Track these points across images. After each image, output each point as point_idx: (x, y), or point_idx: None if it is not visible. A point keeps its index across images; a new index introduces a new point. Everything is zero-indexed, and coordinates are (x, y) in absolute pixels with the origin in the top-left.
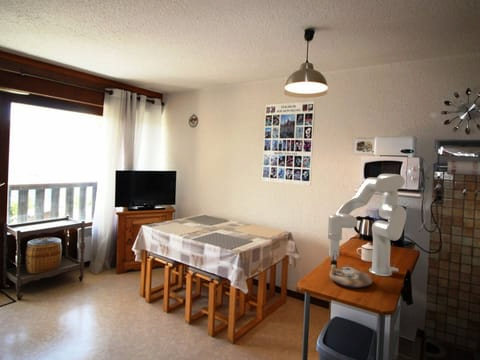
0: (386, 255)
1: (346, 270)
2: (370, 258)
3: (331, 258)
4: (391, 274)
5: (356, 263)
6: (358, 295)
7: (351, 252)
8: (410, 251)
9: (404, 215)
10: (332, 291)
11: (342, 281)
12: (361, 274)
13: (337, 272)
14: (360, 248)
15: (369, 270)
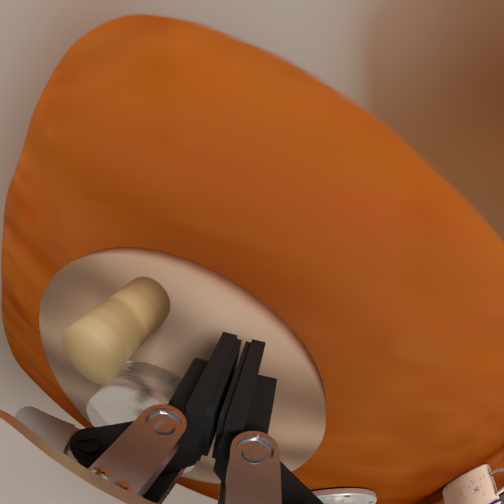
0: None
1: (93, 411)
2: (448, 495)
3: (272, 459)
4: None
5: (460, 456)
6: (38, 326)
7: None
8: None
9: None
10: (30, 211)
11: (40, 304)
12: (200, 465)
13: (203, 357)
14: (500, 492)
15: (347, 491)
